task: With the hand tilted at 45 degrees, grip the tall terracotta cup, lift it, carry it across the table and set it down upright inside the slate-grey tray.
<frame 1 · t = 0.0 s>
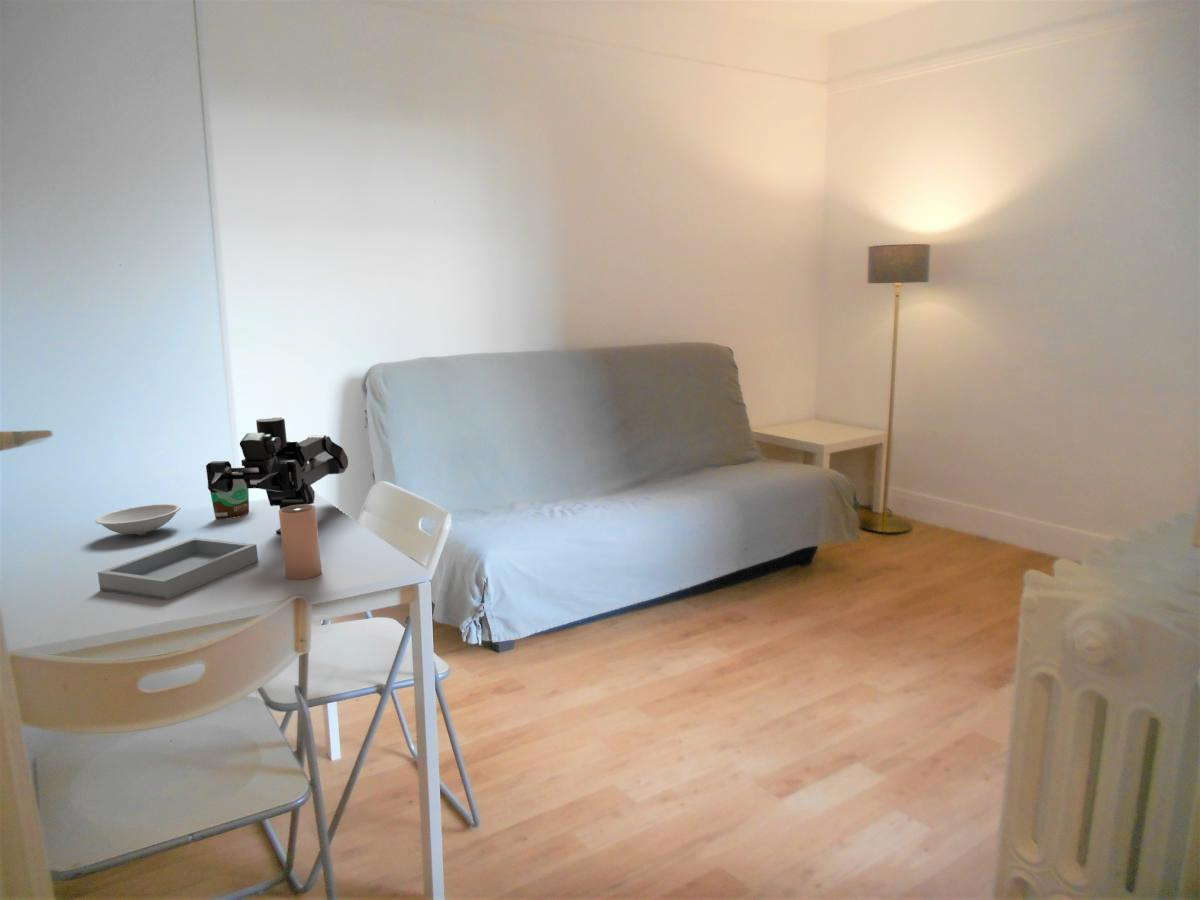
hand: (234, 485, 163), 17 cm above the table, tool horizontal, fingers open, 9 cm apart
cup: (303, 574, 161), on the table
tray: (182, 574, 163), on the table
dish: (142, 535, 191), on the table
food container: (238, 515, 206), on the table
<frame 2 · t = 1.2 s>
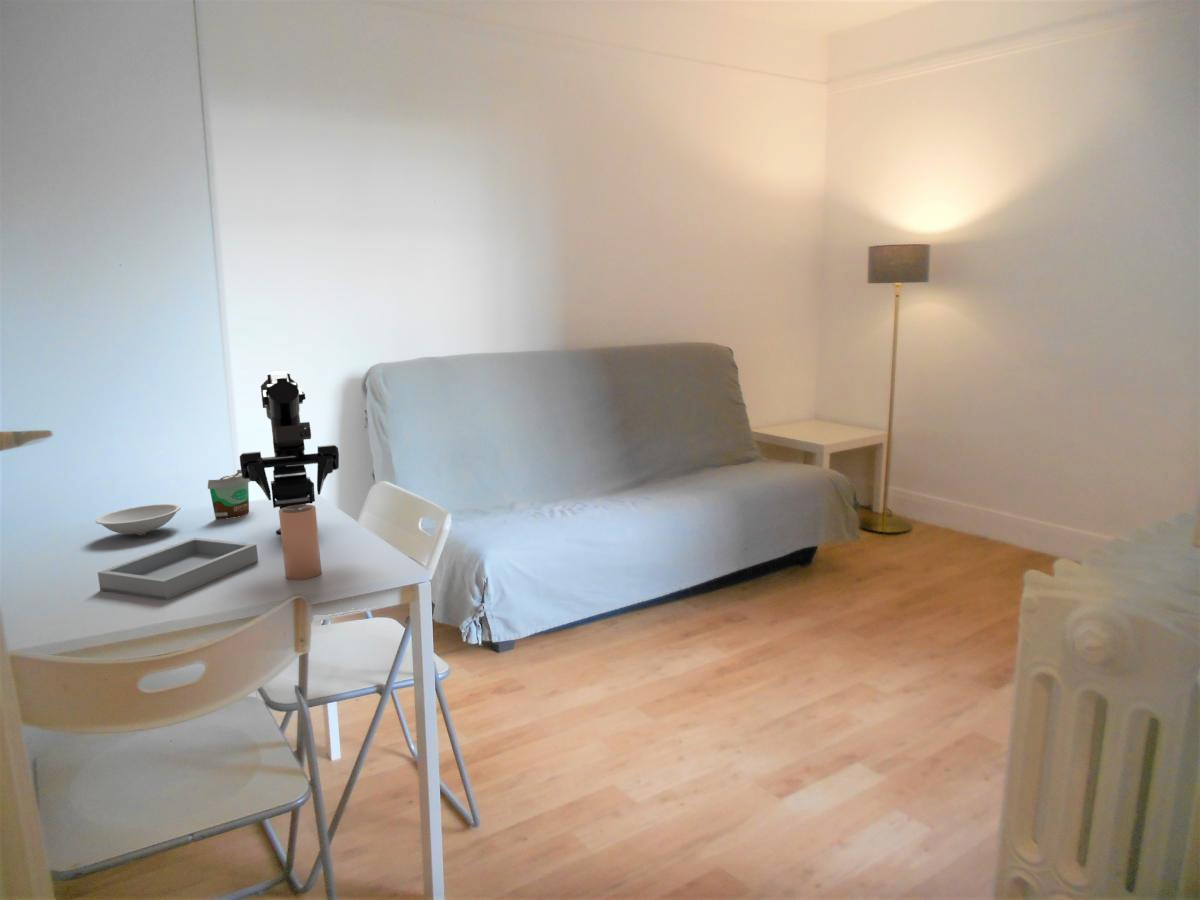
hand: (294, 496, 166), 14 cm above the table, tool tilted 45°, fingers open, 9 cm apart
nothing on the table moved.
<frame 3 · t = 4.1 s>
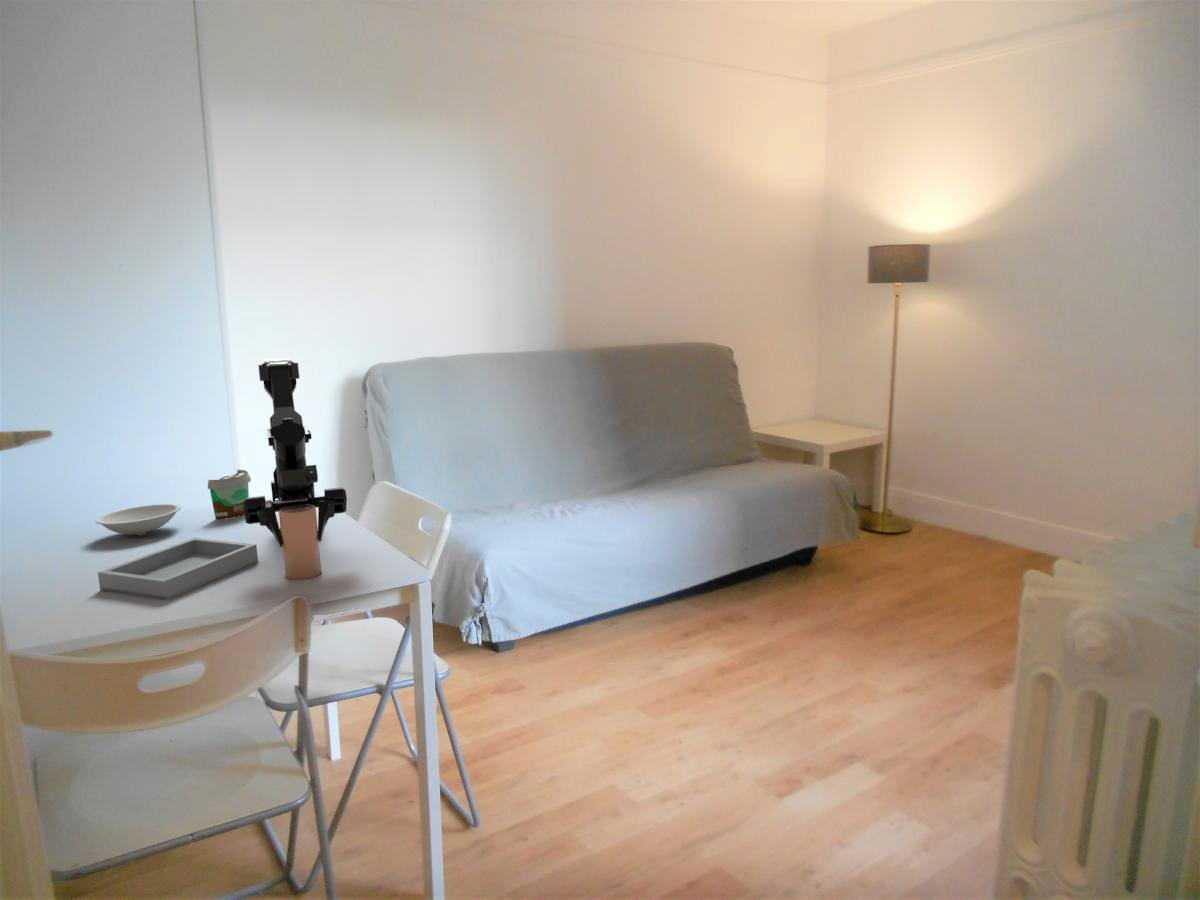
hand: (300, 543, 159), 7 cm above the table, tool tilted 45°, fingers closed on cup, 7 cm apart
cup: (303, 573, 161), on the table, touching gripper
everything else where it was.
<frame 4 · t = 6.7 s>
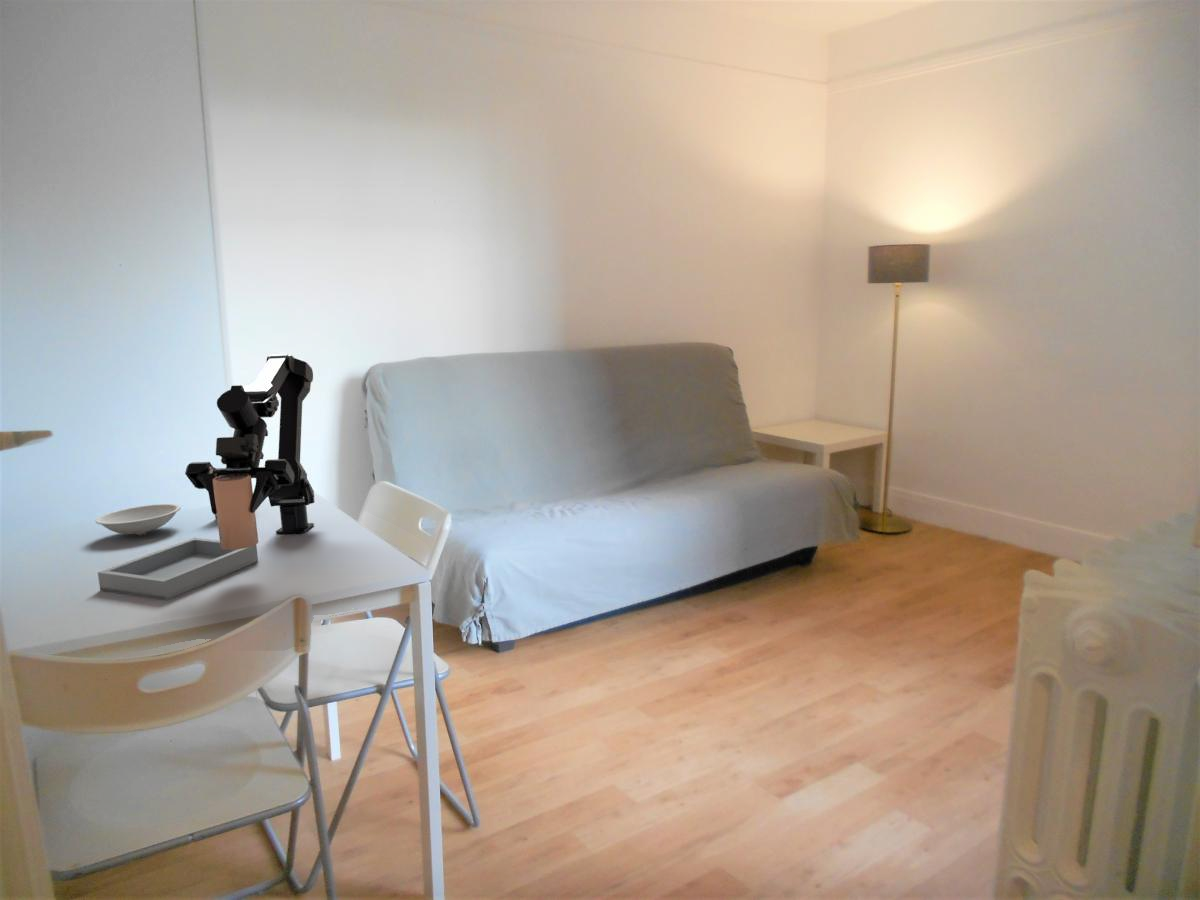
hand: (232, 512, 156), 13 cm above the table, tool tilted 45°, fingers closed on cup, 7 cm apart
cup: (239, 544, 158), point 7 cm above the table, touching gripper
everything else where it was.
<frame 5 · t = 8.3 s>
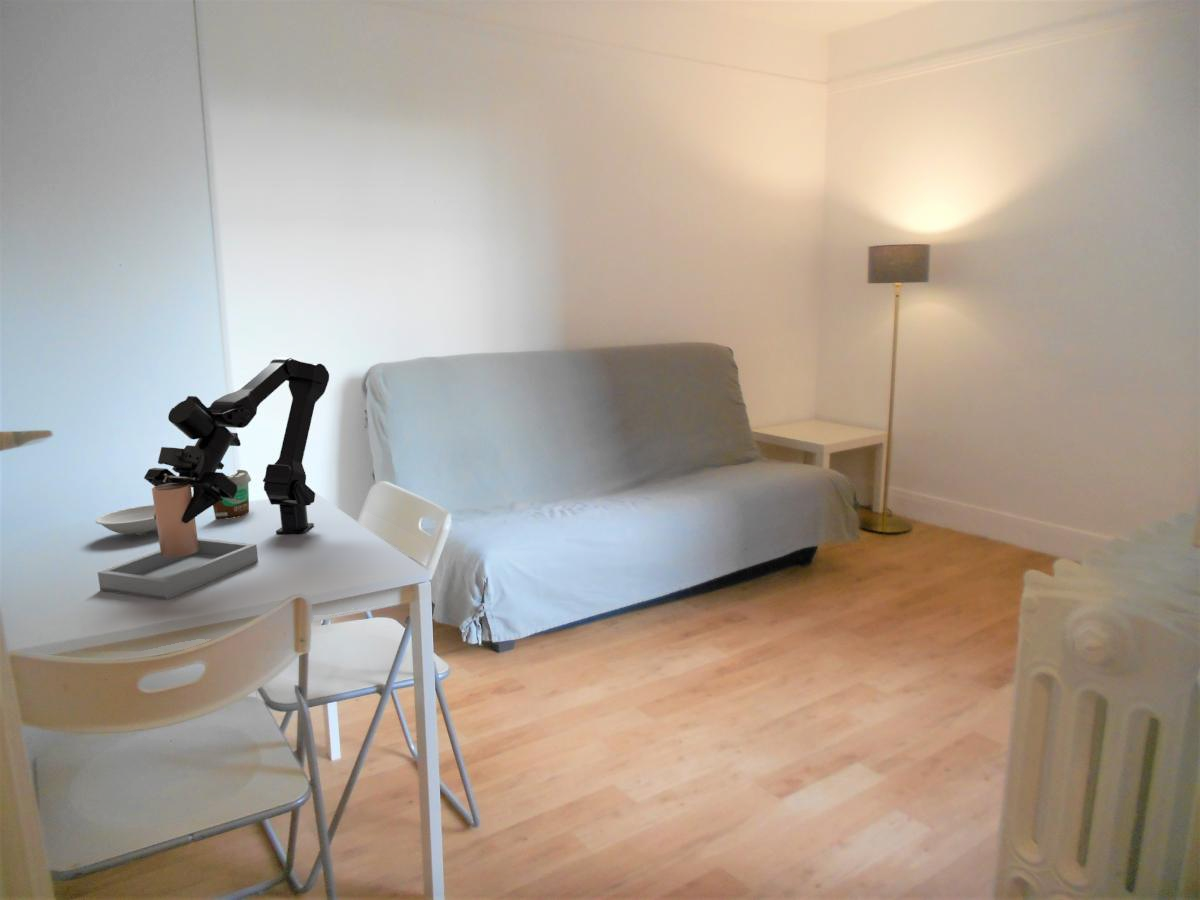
hand: (170, 520, 159), 11 cm above the table, tool tilted 45°, fingers closed on cup, 7 cm apart
cup: (180, 551, 162), point 5 cm above the table, touching gripper
everything else where it was.
when the fingers open (9 cm above the table, at t = 9.3 s): cup drops 1 cm, resting on tray.
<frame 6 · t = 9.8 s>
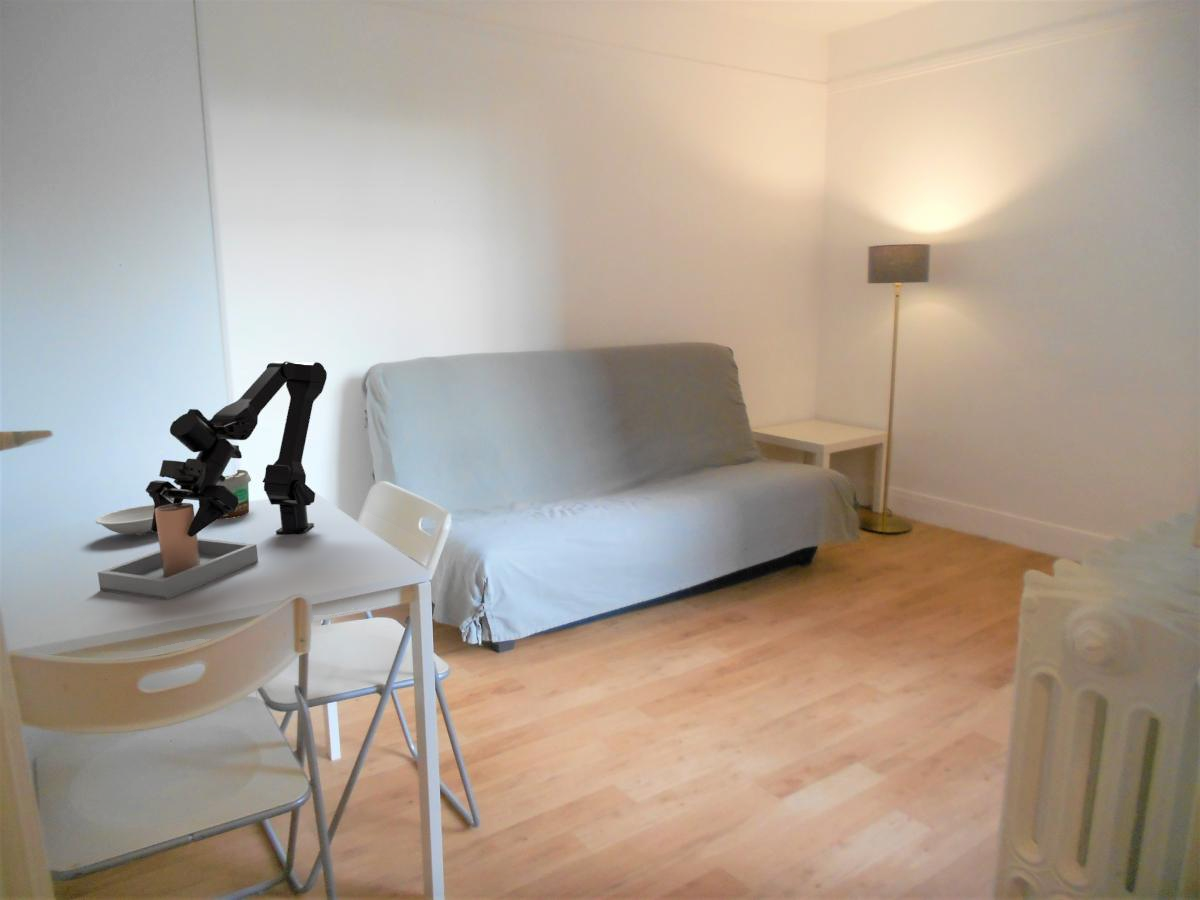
hand: (171, 533, 160), 9 cm above the table, tool tilted 45°, fingers open, 9 cm apart
cup: (182, 572, 162), point 1 cm above the table, touching tray
everything else where it was.
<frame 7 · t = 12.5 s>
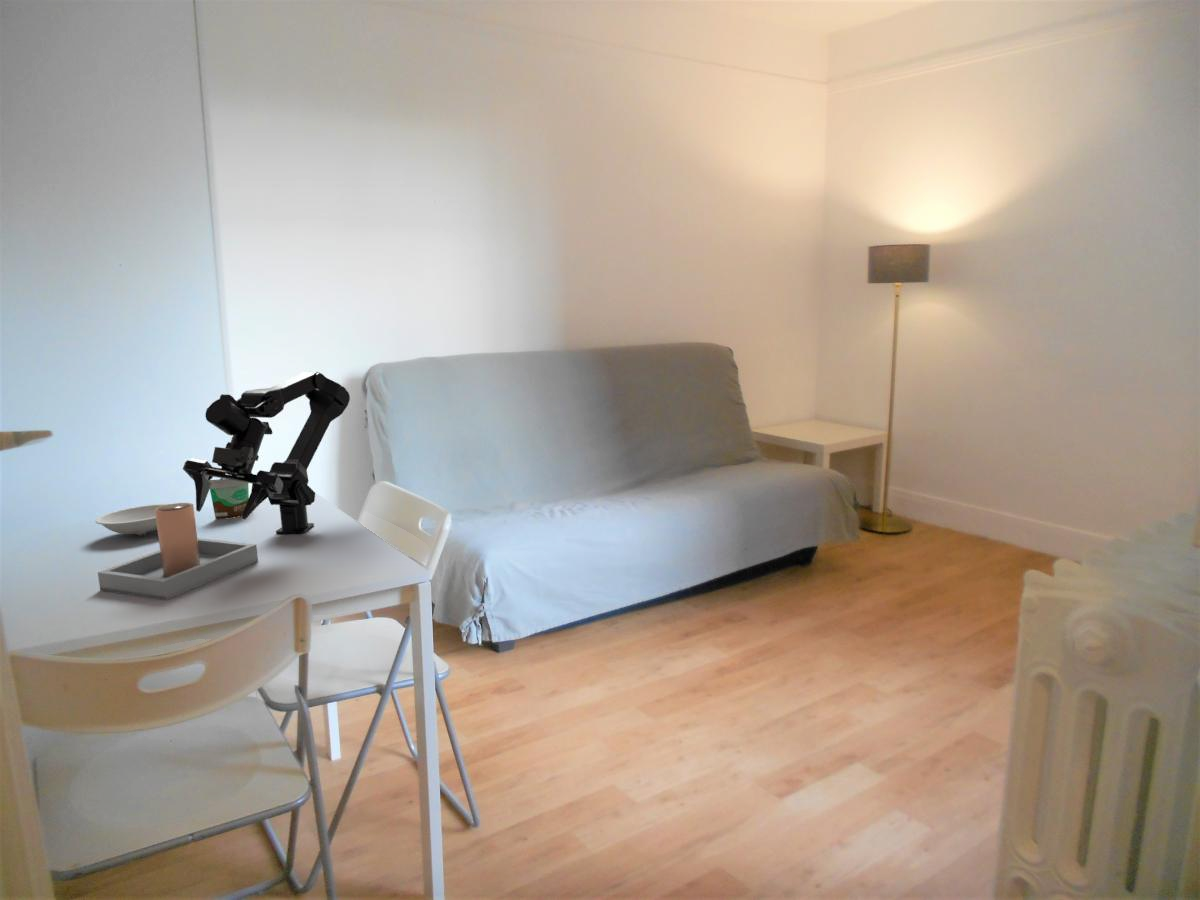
hand: (220, 515, 169), 10 cm above the table, tool tilted 35°, fingers open, 9 cm apart
nothing on the table moved.
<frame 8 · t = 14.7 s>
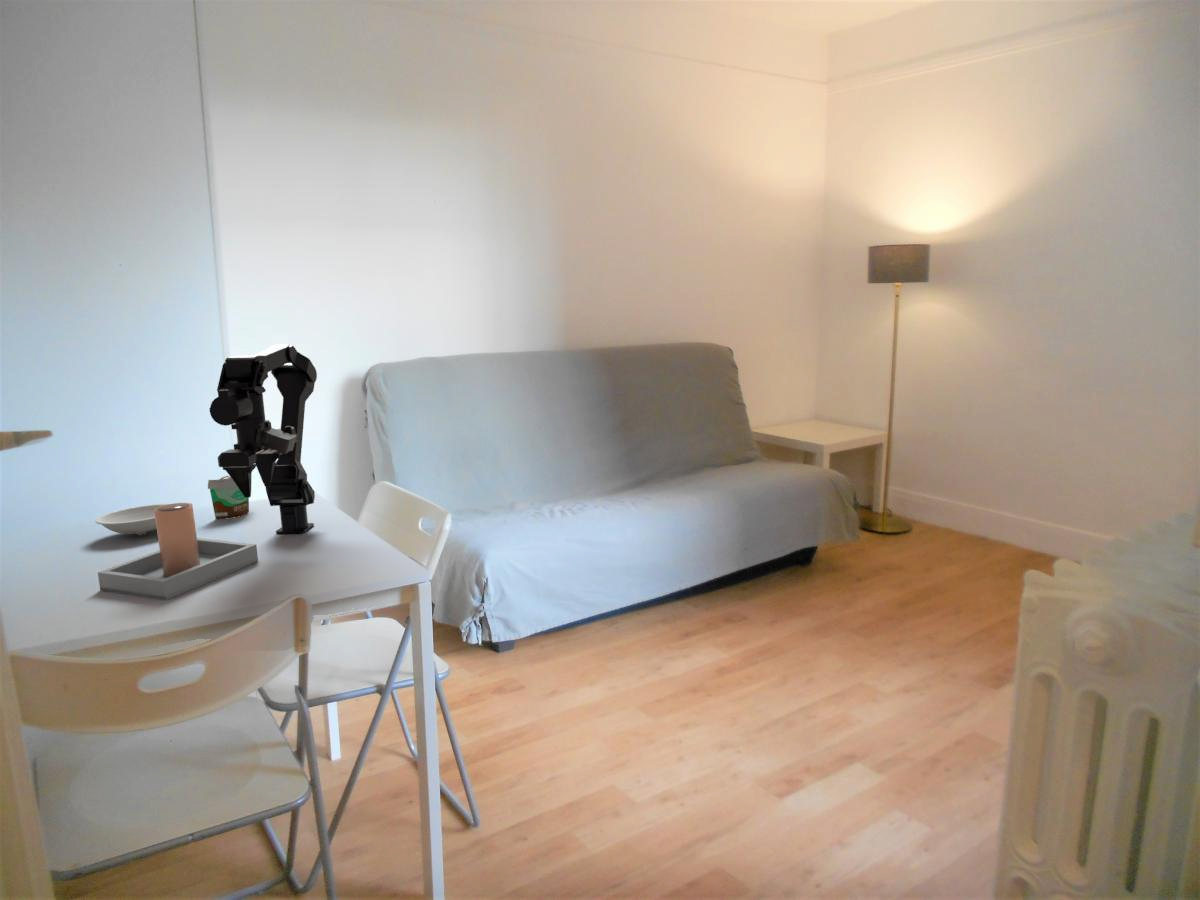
hand: (258, 491, 173), 13 cm above the table, tool pointing down, fingers open, 9 cm apart
nothing on the table moved.
at the end: cup inside the target area on the tray (0.0 cm from its centre), point 0.6 cm above the tray's base; cup tilted 1°; the gripper is holding nothing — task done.
